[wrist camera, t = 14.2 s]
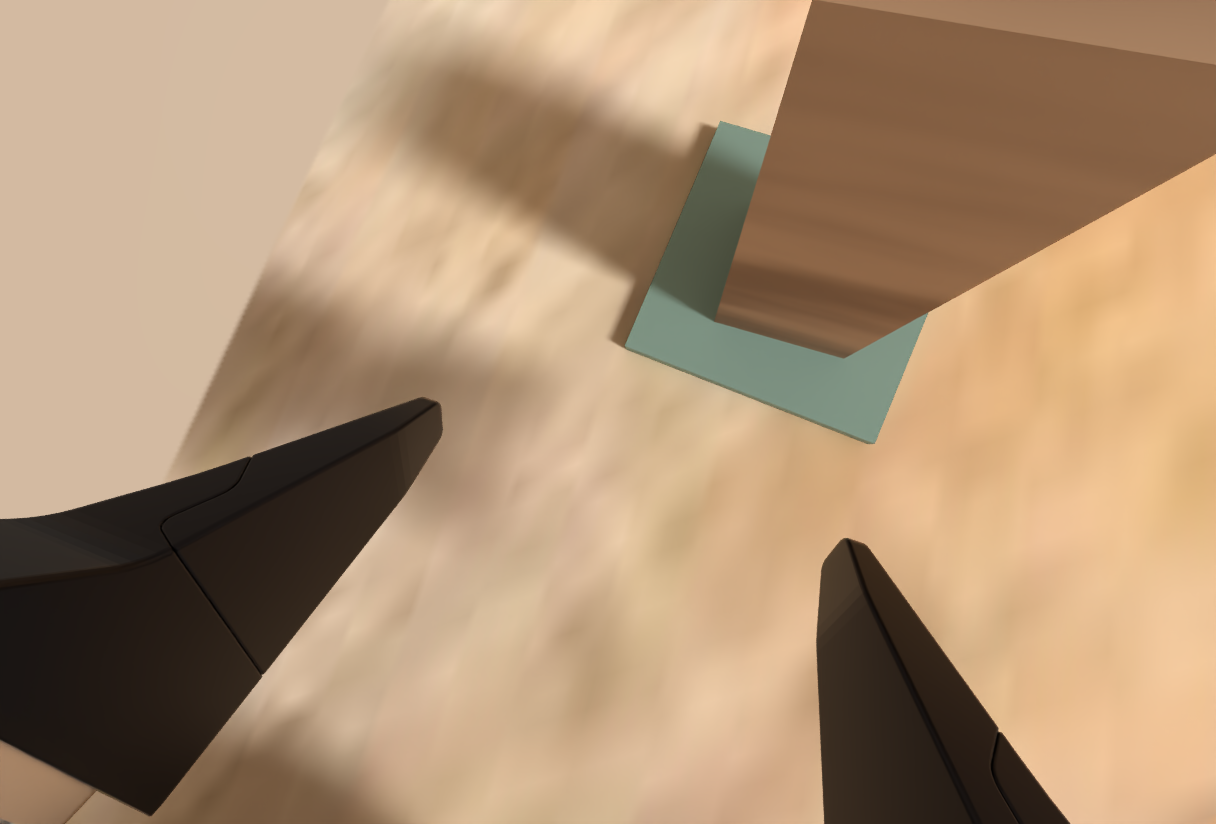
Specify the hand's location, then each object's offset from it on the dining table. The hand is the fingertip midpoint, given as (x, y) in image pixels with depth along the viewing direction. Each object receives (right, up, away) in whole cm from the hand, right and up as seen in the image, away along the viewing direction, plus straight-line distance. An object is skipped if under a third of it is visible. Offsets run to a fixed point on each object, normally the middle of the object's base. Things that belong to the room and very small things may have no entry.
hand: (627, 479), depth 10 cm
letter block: (+7, +7, +8) cm, 12 cm away
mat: (+7, +7, +8) cm, 13 cm away
